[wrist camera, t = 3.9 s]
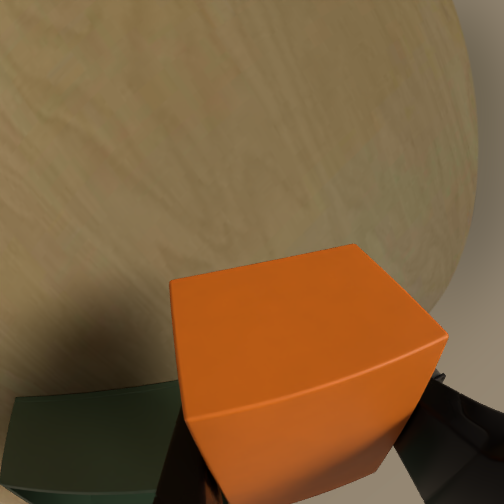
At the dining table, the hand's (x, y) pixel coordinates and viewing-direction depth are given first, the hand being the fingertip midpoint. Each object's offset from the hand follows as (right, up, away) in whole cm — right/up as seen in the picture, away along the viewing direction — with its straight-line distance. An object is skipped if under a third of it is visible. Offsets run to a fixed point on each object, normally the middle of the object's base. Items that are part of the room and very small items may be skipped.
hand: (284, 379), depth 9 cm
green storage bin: (-10, -11, +12) cm, 20 cm away
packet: (0, 0, +1) cm, 1 cm away
